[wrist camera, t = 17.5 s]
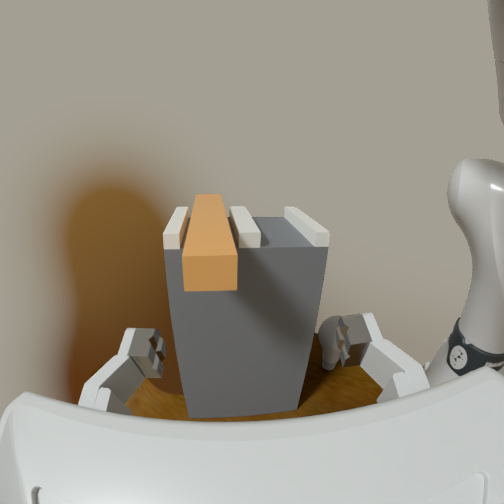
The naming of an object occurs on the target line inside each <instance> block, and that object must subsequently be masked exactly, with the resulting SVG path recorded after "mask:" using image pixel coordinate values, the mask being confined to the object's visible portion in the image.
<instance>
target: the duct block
mask: <svg viewBox="0 0 504 504" xmlns="http://www.w3.org/2000/svg"><path fill="white" fill-rule="evenodd" d="M190 219H191V218H188V207H177V208H176V210H175V212H174V214H173V215H172V217H171V219H170V221H169V223H168V225H167V227H166V229H165V231H164V233H163V241H164V255H165V266H166V276H167V287H168V296H169V304H170V312H171V320H172V327H173V334H174V341H175V347H176V353H177V359H178V365H179V371H180V376H181V381H182V387H183V391H184V396H185V401H186V406H187V411H188V415H189V418H220V417H237V416H249V415H260V414H269V413H277V412H284V411H291V410H297V406H298V402H299V398H300V394H301V390H302V386H303V382H304V378H305V374H306V369H307V365H308V360H309V356H310V351H311V346H312V341H313V336H314V331H315V326H316V321H317V316H318V310H319V305H320V298H321V293H322V287H323V281H324V273H325V268H326V261H327V254H328V245H329V239H330V232H329V231H328V230H326V229H325V228H324V227H322V226H321V225H320V224H318V223H317V222H316V221H314V220H313V219H311V218H310V217H308V216H307V215H306V214H304V213H303V212H302V211H300V210H299V209H297V208H296V207H285V211H284V217H251V215H250V214H249V212H248V211H247V209H246V208H245V206H230V217H227V219H228V222H229V226H230V229H231V233H232V237H233V240H234V244H235V248H236V251H237V255H238V262H237V290H226V291H184V281H183V266H182V253H183V249H184V244H185V240H186V236H187V231H188V227H189V223H190Z"/></svg>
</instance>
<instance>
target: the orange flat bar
mask: <svg viewBox="0 0 504 504" xmlns="http://www.w3.org/2000/svg"><path fill="white" fill-rule="evenodd" d="M237 262H238V255H237V251H236V248H235V244H234V240H233V237H232V233H231V229H230V226H229V222H228V219H227V215H226V211H225V208H224V204H223V200H222V197H221V194H197V196H196V199H195V203H194V207H193V211H192V215H191V219H190V223H189V227H188V231H187V236H186V240H185V244H184V249H183V253H182V266H183V281H184V291H226V290H237Z"/></svg>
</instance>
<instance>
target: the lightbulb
mask: <svg viewBox="0 0 504 504" xmlns="http://www.w3.org/2000/svg"><path fill="white" fill-rule="evenodd" d="M340 317H341V316H332V317H330V318H328V319H326V320H325V321H324V322H323V323H322V324H321V326H320V328H319V332H318V338H319V341H320V344H321V346H322V358H323V359H322V367H323V368H324V369H325V370H332V369H334V368H335V366H336V363H337V361H338V360H339V358H340V353H341V350H340V349H339V348H338V347H337V343H336V329H337V328H338V327H339V323H338V321H339V318H340Z"/></svg>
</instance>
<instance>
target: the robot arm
mask: <svg viewBox="0 0 504 504" xmlns="http://www.w3.org/2000/svg"><path fill="white" fill-rule="evenodd" d="M487 2H488V12H489V20H490V28H491V36H492V43H493V50H494V58H495V59H496V60H495V65H496V73H497V83H498V97H499V113H500V117H501V120H502V122H503V124H504V62H503V61H504V0H487ZM498 60H500V61H498ZM447 193H448V203H449V208H450V211H451V214H452V216H453V218H454V220H455V221H456V223H457V224H458V225H459V227H460V228H461V230H462V232H463V233H464V235H465V237H466V239H467V242H468V244H469V247H470V251H471V255H472V264H473V272H472V281H471V286H470V290H469V294H468V297H467V301H466V304H465V307H464V309H463V312H462V315H461V317H460V318H458V320H457V321H456V324H455V325H454V327H453V329H452V331H451V334H450V337H449V338H446V339H445V340H444V341H443V342H442V344H441V346H440V348H439V349H438V351H437V352H436V354H435V356H434V358H433V360H432V361H429V362H426V364H425V365H424V366H423V367H422V365H420V364H419V363H418V362H416V361H415V360H414V359H412V358H411V357H410V356H408V355H407V354H406V353H404V352H403V351H402V350H400V349H399V348H398V347H396V346H395V345H394V344H392V343H391V342H390V341H388V340H387V339H385V340H384V339H383V337H382V335H381V332H380V329H379V327H378V325H377V322H376V320H375V318H374V315H373V313H371V312H369V313H363V314H355V315H348V316H341V317H340V318H339V321H338V323H339V327H338V328H337V329H336V343H337V347H338V348H339V349H340V350H341V353H340V358H341V362H342V366H343V367H350V366H357V365H360V366H361V367H362V368H363V369H364V370H365V371H366V372H367V373H368V374H369V375H370V376H371V377H372V378H373V379H374V380H375V381H376V382H377V383H378V384H379V385H380V386H381V387H382V388H383V389H384V390H383V391H382V393H381V394H380V396H379V397H378V399H377V404H373V405H368V406H364V407H359V408H355V409H350V410H345V411H339V412H334V413H328V414H321V415H314V416H307V417H299V418H290V419H279V420H266V421H247V422H197V421H178V420H166V419H155V418H146V417H138V416H132V413H133V412H132V411H131V410H130V409H129V408H128V407H127V406H126V405H125V403H126V402H127V401H128V399H129V398H130V397H131V396H132V394H133V393H134V392H135V391H136V389H137V388H138V387H139V386H140V384H141V383H142V382H143V381H144V379H145V377H152V378H161V377H162V371H163V364H162V361H163V360H164V359H165V356H166V345H165V342H164V340H163V339H162V338H160V332H159V330H158V329H145V328H128V329H127V330H126V331H125V334H124V337H123V340H122V343H121V346H120V349H119V352H118V355H115V356H114V357H113V358H112V359H110V361H108V362H107V363H106V364H105V365H104V366H103V367H102V368H101V369H100V370H99V371H98V372H97V373H95V374H94V375H93V376H92V377H91V378H90V379H89V380H88V381H87V382H86V383H85V384H84V387H83V390H82V394H81V397H80V400H79V404H78V405H75V404H71V403H67V402H63V401H60V400H56V399H53V398H49V397H46V396H43V395H39V394H37V393H33V392H30V391H26V392H24V393H22V394H21V395H20V396H18V397H17V398H16V399H15V400H14V401H12V402H11V403H10V404H9V405H8V406H7V408H6V410H5V411H4V413H3V416H2V418H1V421H0V504H504V163H501V162H497V161H494V160H489V159H463V160H462V161H461V162H460V163H459V164H458V165H457V166H456V167H455V169H454V170H453V172H452V174H451V177H450V180H449V183H448V192H447Z"/></svg>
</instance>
